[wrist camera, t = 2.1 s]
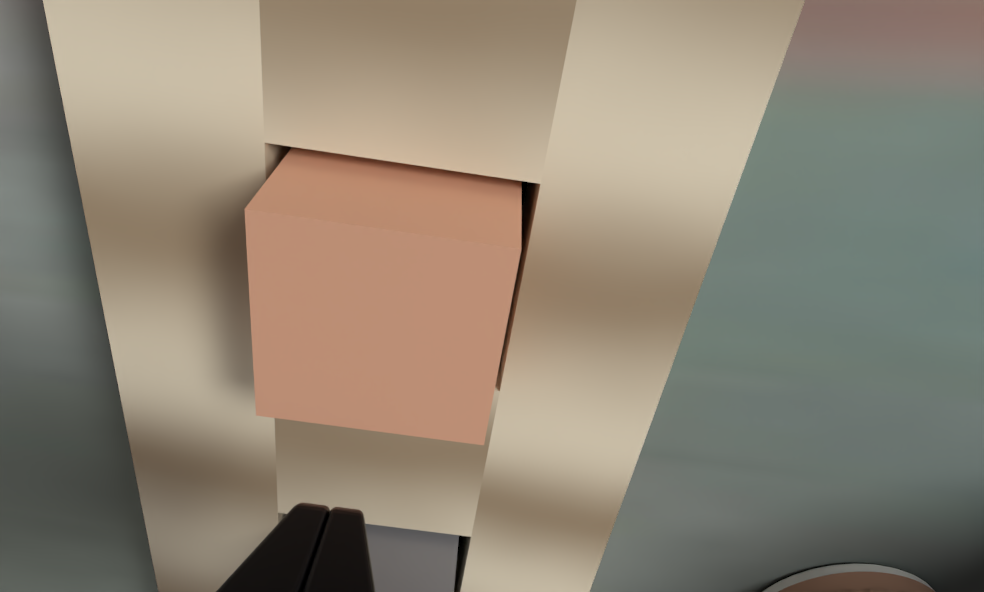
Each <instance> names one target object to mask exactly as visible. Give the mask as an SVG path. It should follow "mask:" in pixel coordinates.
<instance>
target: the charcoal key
mask: <svg viewBox="0 0 984 592" xmlns="http://www.w3.org/2000/svg"><path fill="white" fill-rule="evenodd" d="M365 525H366V532H367V539H368V545H369V552H370V559H371V565H372V572H373V579H374V585H375V592H454V584H455V574H456V563H457V552H458V541H459V535H453V534H445V533H437V532H429V531H421V530H413V529H404V528H396V527H388V526H380V525H372V524H365Z"/></svg>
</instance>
